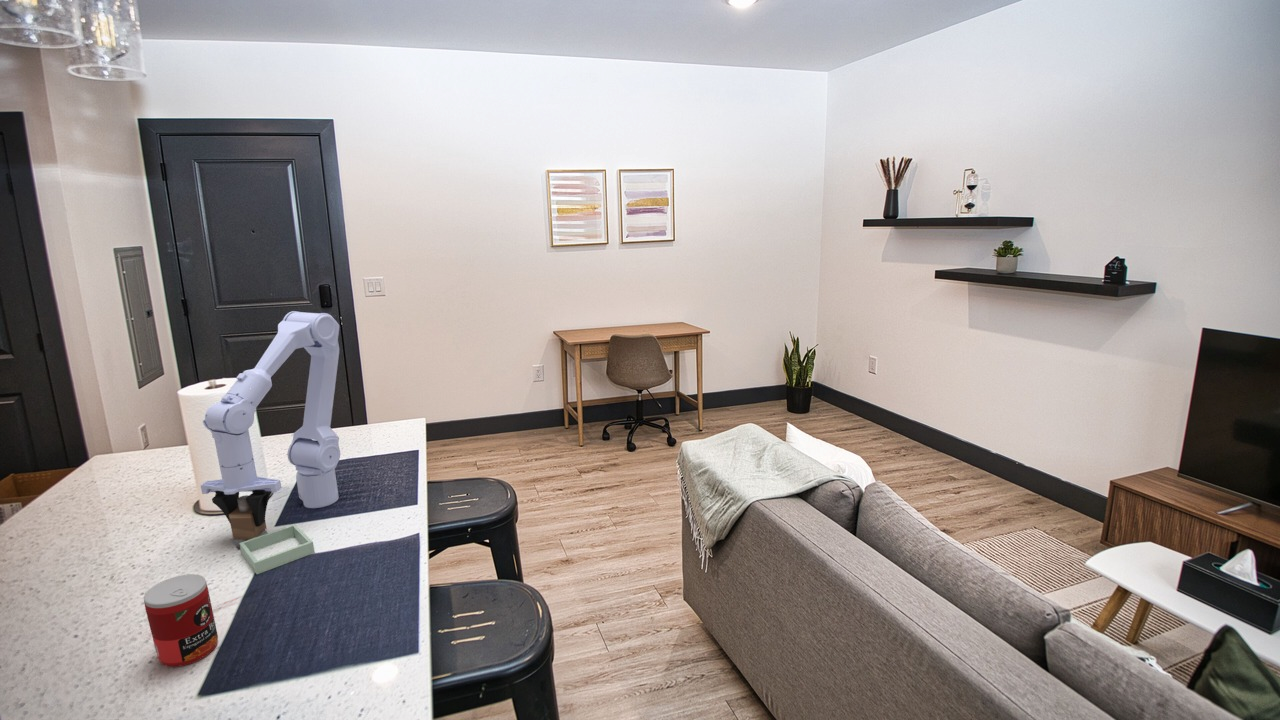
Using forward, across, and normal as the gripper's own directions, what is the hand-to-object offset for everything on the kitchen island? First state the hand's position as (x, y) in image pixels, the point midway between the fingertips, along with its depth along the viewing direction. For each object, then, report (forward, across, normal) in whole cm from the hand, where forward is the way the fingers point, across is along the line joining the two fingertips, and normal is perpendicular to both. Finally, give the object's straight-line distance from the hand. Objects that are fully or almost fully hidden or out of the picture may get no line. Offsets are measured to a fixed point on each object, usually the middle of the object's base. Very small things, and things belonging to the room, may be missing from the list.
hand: (248, 524), depth 126 cm
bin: (+4, +8, -6) cm, 11 cm away
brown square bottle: (+2, 0, 0) cm, 2 cm away
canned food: (+5, +8, -31) cm, 33 cm away
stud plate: (+4, 0, 0) cm, 4 cm away
